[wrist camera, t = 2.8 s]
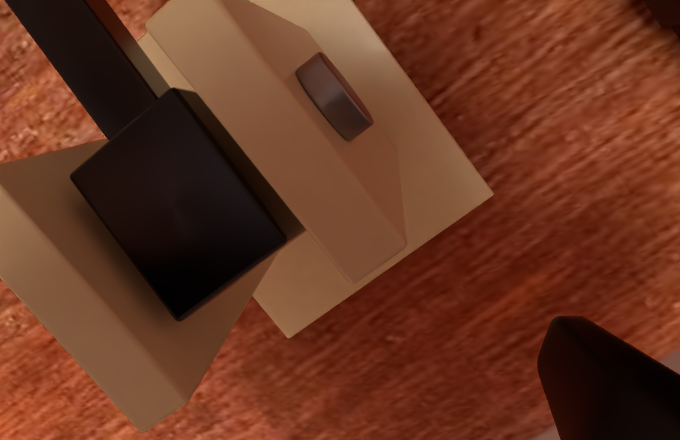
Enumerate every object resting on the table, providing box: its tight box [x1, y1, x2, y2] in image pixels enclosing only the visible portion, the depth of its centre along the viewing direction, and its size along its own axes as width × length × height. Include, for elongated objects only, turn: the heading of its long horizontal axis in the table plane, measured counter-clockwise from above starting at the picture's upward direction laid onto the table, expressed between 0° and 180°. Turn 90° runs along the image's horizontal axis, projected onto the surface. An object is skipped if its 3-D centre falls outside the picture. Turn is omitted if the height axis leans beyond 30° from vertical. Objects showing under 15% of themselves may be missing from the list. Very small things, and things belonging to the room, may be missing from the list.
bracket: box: [0, 0, 494, 433], centre depth 14 cm, size 10×8×11 cm
